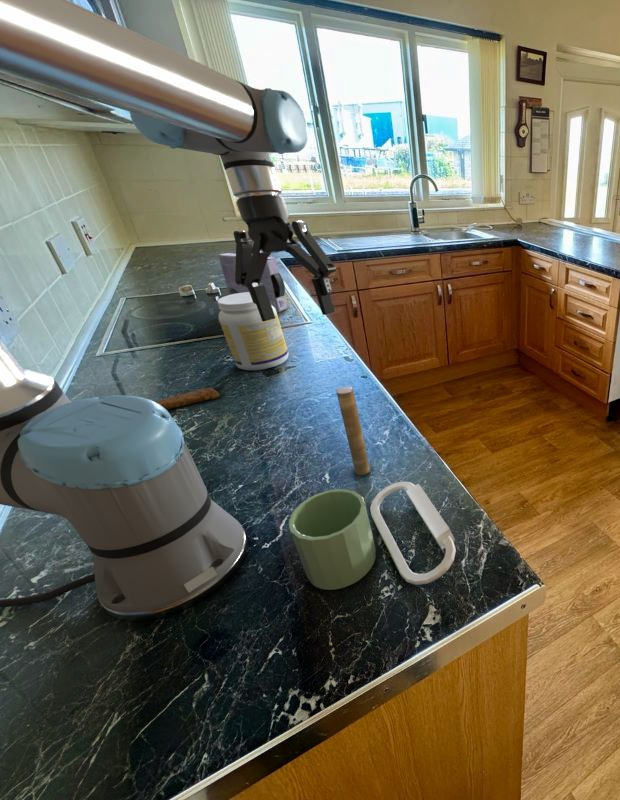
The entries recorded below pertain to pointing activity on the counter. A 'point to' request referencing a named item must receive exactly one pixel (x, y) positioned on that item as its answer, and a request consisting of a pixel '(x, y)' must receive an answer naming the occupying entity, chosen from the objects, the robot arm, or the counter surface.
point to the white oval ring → (433, 524)
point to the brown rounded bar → (188, 398)
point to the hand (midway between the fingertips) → (298, 316)
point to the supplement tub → (251, 333)
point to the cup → (333, 538)
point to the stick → (353, 429)
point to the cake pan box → (269, 280)
